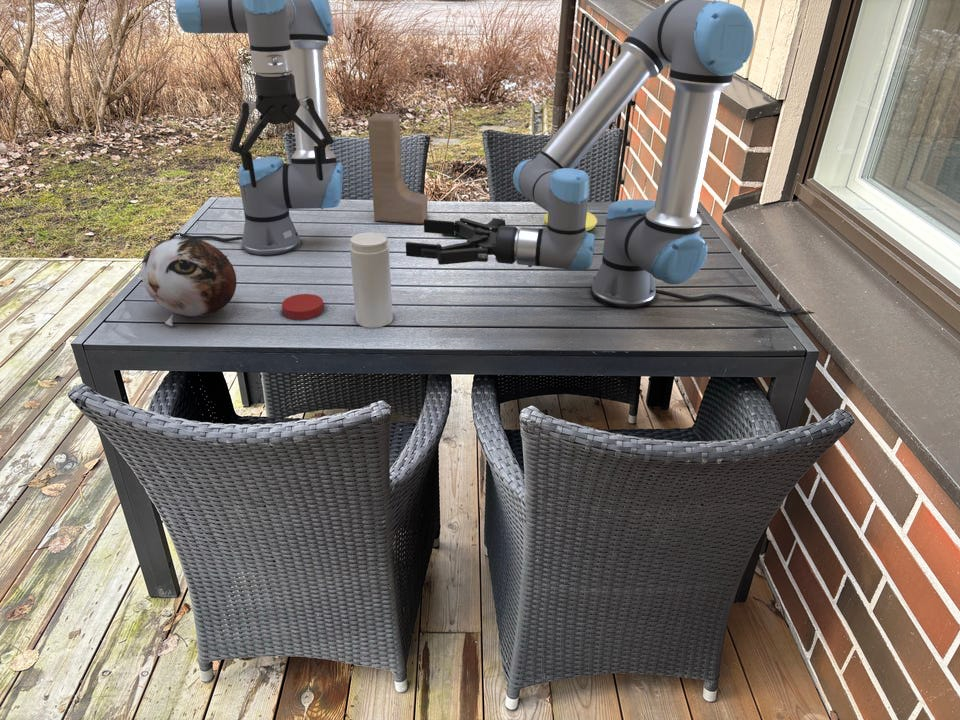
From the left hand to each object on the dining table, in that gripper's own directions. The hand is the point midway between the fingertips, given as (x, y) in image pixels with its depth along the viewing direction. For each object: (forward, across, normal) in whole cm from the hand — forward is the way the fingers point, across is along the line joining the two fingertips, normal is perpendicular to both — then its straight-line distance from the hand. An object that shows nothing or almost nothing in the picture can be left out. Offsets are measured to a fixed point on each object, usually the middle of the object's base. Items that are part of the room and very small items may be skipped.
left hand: (287, 182), depth 148 cm
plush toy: (+30, -23, +8) cm, 38 cm away
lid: (+28, 0, 0) cm, 28 cm away
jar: (+30, +14, -10) cm, 34 cm away
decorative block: (+30, +39, +50) cm, 70 cm away
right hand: (+9, +22, -16) cm, 29 cm away
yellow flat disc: (+30, +83, +24) cm, 91 cm away
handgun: (+30, +56, +32) cm, 71 cm away
